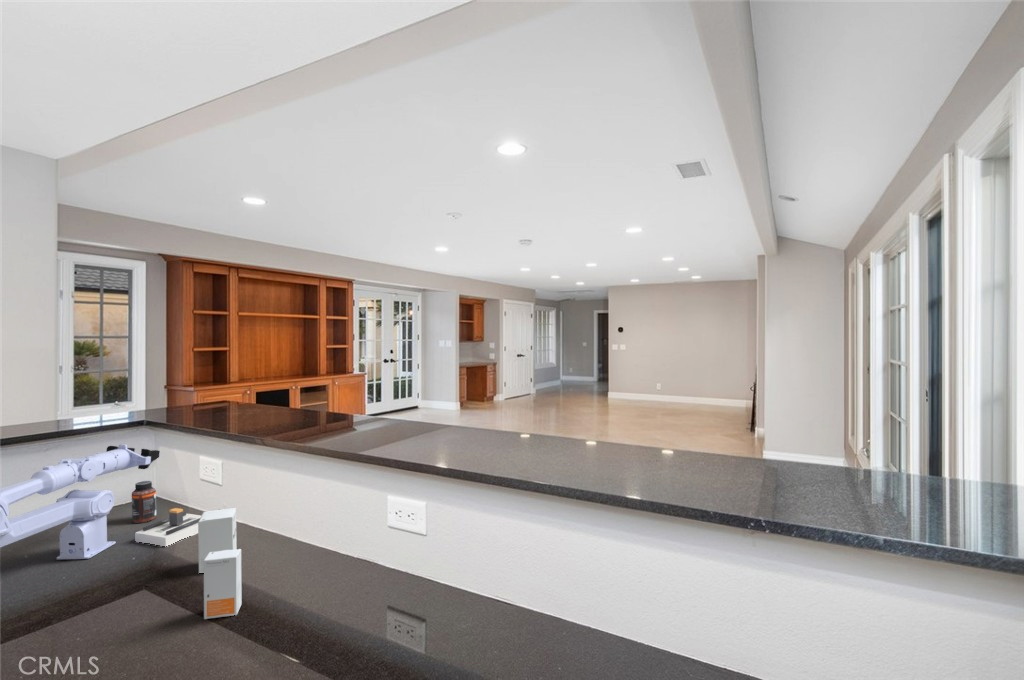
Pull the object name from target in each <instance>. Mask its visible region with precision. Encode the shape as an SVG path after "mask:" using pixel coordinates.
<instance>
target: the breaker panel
mask: <svg viewBox="0 0 1024 680" xmlns="http://www.w3.org/2000/svg"><path fill="white" fill-rule="evenodd" d="M201 516H202V514H201V515H200V514H194V513H187V512H186V511H183V524H181V525H178V526H176V525H169V523H170V521H169V518H165V519H163V520H160V521H157V522H155V523H153V524H150V525H147V526H144V527H142V529H141V530H139V531H136V532H135V534H134V538H135V539H134V542H135V541H136V542H135V543H139V542H142V543H141V544H144V543H150V544H155V545H154V546H156V545H160V546H159V547H162V546H165V547H164V548H167V547H169V546H168V545H170V546H172V545H174V544H176V543H175V542H177V541H179V540H181V539H184V538H186V539H188V538H190V537H189V536H191V537H193V536H195V535H198V522H199V520H200V518H201ZM187 537H188V538H187ZM184 540H185V539H184ZM181 541H182V540H181ZM179 542H180V541H179ZM173 543H174V544H173ZM177 543H178V542H177ZM150 544H149V545H150ZM171 544H172V545H171ZM166 546H167V547H166Z"/></svg>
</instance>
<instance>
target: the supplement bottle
mask: <svg viewBox="0 0 1024 680" xmlns="http://www.w3.org/2000/svg"><path fill="white" fill-rule="evenodd" d="M134 486H135V487H134V488H135V489H134V490H133V491H132V492H131V517H132V522H133V523H136V524H139V523H147V521H148V522H151V521H153V520H155V519H156V518H157V490H156V488H154V487H153V484H152V481H151V480H143V481H139V482H136V483H135V485H134ZM150 520H151V521H150Z"/></svg>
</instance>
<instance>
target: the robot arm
mask: <svg viewBox="0 0 1024 680" xmlns="http://www.w3.org/2000/svg"><path fill="white" fill-rule="evenodd" d="M135 451H136V448H135V447H128V445H127V444H125V443H124V444H123V443H122V444H119V445H118V446H117V445H109V446H107V447H106V451H99V452H96V453H95V454H91V455H87V456H83V457H80V458H75V457H73V458H71V457H70V458H63V459H61V460H60V461H59V462H58V463H57V464H56V465H46V466H43V467H42V469H41V470H38V471H35V472H34V473H33V474H32V476H31V477H30V479H27V480H24V481H20V482H17V483H13V484H11V485H7V486H4V487H0V548H2V547H5V546H7V545H11V544H12V543H15V542H19V541H21V540H23V539H26V538H28V537H31V536H34V535H36V534H38V533H41V532H43V531H46V530H49V529H51V528H54V527H56V526H59V525H61V524H64V523H67V522H68V524H66V526H64V527H63V528H62V529H61V531H60V533H59V555H58V556H57V557H56V560H88V559H91V558H92V557H94V556H96V555H98V554H100V553H101V552H103V551H105V550H107V549H108V548H110V547H112V546H113V545H115V544H116V542H117V541H114V540H113V541H108V525H107V524H108V520H107V515H109V514H110V511H111V510H112V509H113V507H114V505H115V500H116V499H115V494H114V493H113V491H112V490H109V489H103V490H90V489H89V490H86V489H85V490H84V489H83V490H81V489H72V490H69V491H68V492H67V493H66V494H64V495H63V496H62V497H59V498H56V502H54V503H52V504H48V505H45V506H43V507H39V508H37V509H36V508H35V509H34V510H30V511H27V512H26V513H23V514H19V515H17V516H14V517H13V516H12V517H11V518H8V516H9V515H10V508H9V506H10V505H12V504H15V503H17V502H19V501H21V500H24V499H27V498H28V497H30V496H33V495H35V494H39V495H42V496H43V495H48V494H51V493H54V492H55V491H58V490H60V489H63V488H66V487H68V486H71V485H73V484H75V483H81V482H82V483H84V482H88V483H89V482H92V481H93V480H94V479H95V478H96V477H100V476H103V475H106V474H110V473H114V472H117V471H123V470H127V469H132V468H135V467H137V468H138V469H139V470H147V469H149V467H150V465H151V464H152V463H153V462H154V461H156V460H157V459H159V458H160V450H157V449H156V450H155V449H147V448H141V450H140V454H139V453H136V452H135Z"/></svg>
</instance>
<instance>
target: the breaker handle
mask: <svg viewBox="0 0 1024 680" xmlns="http://www.w3.org/2000/svg"><path fill="white" fill-rule="evenodd" d="M168 512H169V513H168V515H169V521H170V523H169V525H176V526H178V525H181V524H183V513H184V509H183V508H179V507H174V508H171V509H169V510H168Z"/></svg>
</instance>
